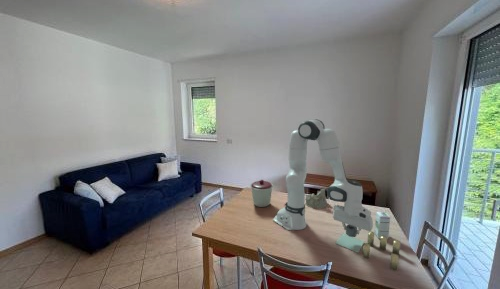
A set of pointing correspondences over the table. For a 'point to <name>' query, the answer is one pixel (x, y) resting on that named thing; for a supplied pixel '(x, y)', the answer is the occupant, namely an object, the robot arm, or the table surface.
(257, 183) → the canister
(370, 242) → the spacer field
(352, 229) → the hex nut
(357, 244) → the mat
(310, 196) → the jagged green rock
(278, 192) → the table surface
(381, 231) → the syrup box
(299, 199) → the robot arm
